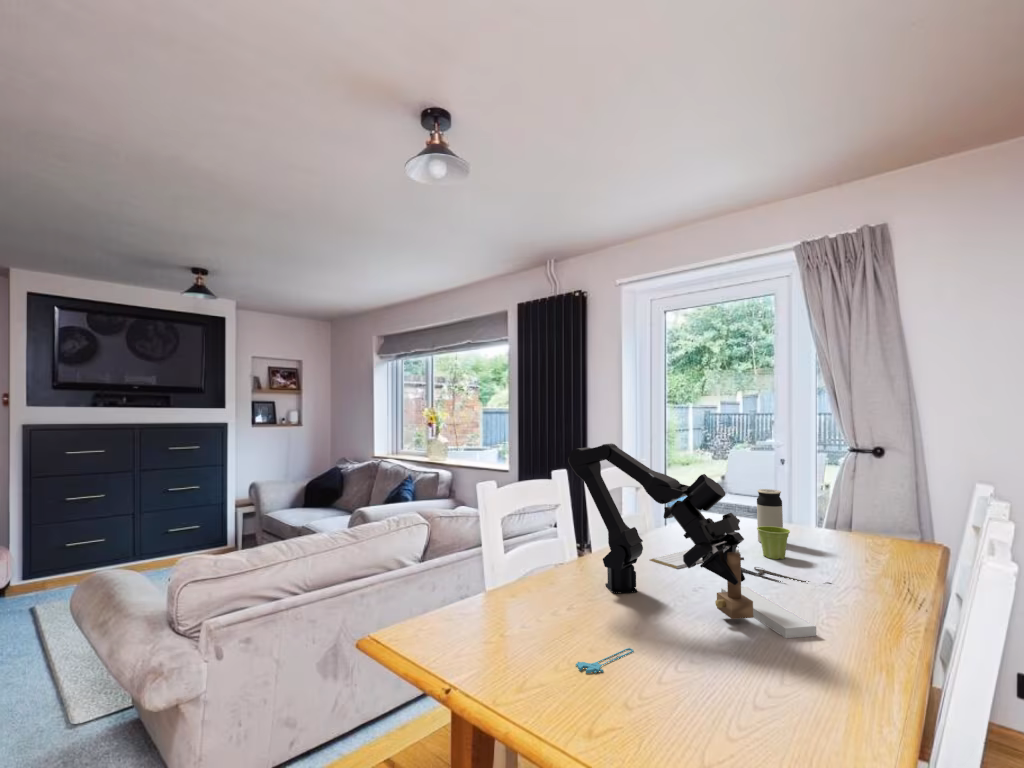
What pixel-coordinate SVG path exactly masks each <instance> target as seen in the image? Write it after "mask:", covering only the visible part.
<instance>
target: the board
mask: <svg viewBox="0 0 1024 768" xmlns="http://www.w3.org/2000/svg"><path fill="white" fill-rule="evenodd" d="M720 592H728V587H721V591H720ZM741 594H742V595H744V596H745V597H747V598H748V599H750V600H752V601H753V618H754V619H756V620H757V621H759V622H760V623H761V624H764V625H765V626H766V627H768V628H770V629H771V630H772V631H774V632H776V633H777V634H779V635H780V636H782V637H783V638H784V639H789V638H790V639H793V638H805V637H806V638H807V637H816V636H817V625H815V624H814V623H812V622H810V621H808V620H807V619H805V618H803V617H801V616H800V615H798V614H796V613H795V612H793V611H791V610H789V609H787V608H785V607H784V606H782V605H780V604H779V603H777V602H775V601H773V600H771V599H770V598H767V596H765V595H762V594H761V593H759V592H758V591H755V590H754V589H752V588H751V587H749V586H741Z"/></svg>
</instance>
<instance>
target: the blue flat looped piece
mask: <svg viewBox="0 0 1024 768" xmlns="http://www.w3.org/2000/svg"><path fill="white" fill-rule="evenodd" d="M625 650H627V651H628V652H627V653H626V651H625ZM623 651H625V654H624V652H623ZM621 652H622V653H623V654H624V655H623V654H622V653H621ZM632 652H633V653H634V652H635V651H634V649H633V648H630V647H627V648H624V649H623V650H621V651H618V652H616V653H614V654H612V655H609V656H607V657H604V658H602V659H600V660H598V661H595V662H591V663H589V662H586V661H581V662H580V661H577V663H576V664H575V666H576V665H577V666H578V667H577V666H576V667H577V670H578V669H579V670H580V671H581V670H582V669H583V668H587V669H585V674H587V673H590V674H592V673H591V672H594V673H596V672H599V671H601V672H602V673H603V672H604V669H602V667H601V666H602V665H604V664H606V663H608V662H611V661H613V660H616V659H618V658H620V659H621V657H622V658H624V657H626V656H628V654H629V653H631V654H633V653H632ZM619 653H620V654H622V655H621V656H620V654H619ZM617 654H618V655H617ZM613 655H617V656H619V657H617V656H616V657H617V658H615V657H614V658H615V659H614V658H613V659H612V660H610V661H609V660H608V659H607V658H609V657H611V656H613ZM625 655H626V656H625ZM629 655H630V654H629ZM623 656H624V657H623ZM611 658H612V657H611ZM605 659H607V660H608V662H607V661H606V660H605ZM609 659H610V658H609ZM602 660H605V661H606V662H604V663H602V664H600V663H601V662H600V661H602ZM618 660H619V659H618ZM616 661H617V660H616ZM598 662H600V663H598ZM602 662H603V661H602ZM613 662H614V661H613ZM611 663H612V662H611ZM600 667H601V668H600ZM579 670H578V671H579ZM583 670H584V669H583ZM583 670H582V671H583ZM580 671H579V672H580ZM582 671H581V672H582ZM601 672H599V673H601ZM594 673H593V674H594ZM596 674H597V673H596Z"/></svg>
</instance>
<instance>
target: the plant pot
mask: <svg viewBox="0 0 1024 768" xmlns="http://www.w3.org/2000/svg"><path fill="white" fill-rule="evenodd" d="M756 531H757V532H758V531H759V534H760V539H761V542H760V543H761V548H762V549H761V550H762V555H763V557H766V558H767V559H772V560H779V559H781V560H784V559H785V558H786V554H787V553H786V551H787V544H788V537H789V534H790V533H791V530H790V529H788V528H785V527H783V528H780V527H773V526H761V527H758V526H756Z"/></svg>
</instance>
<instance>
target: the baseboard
mask: <svg viewBox="0 0 1024 768" xmlns="http://www.w3.org/2000/svg"><path fill="white" fill-rule="evenodd" d="M690 549H691V548H690ZM690 549H685V550H682V551H681V550H680V551H676V552H672V553H669V554H665V555H661V556H657V557H652V558H649V561H651V562H653V563H657V564H660V565H663V566H667V567H670V568H673V569H676V570H677V569H681V568H684V567H687V566H686V564H685V563H684V562H683V555H684V554H685V553H686V552H688V551H689V550H690ZM739 551H740V550H739V546H737V548H736V552H737V553H740V552H739ZM699 563H704V562H703V561H702V558H701V559H699V560H698V561H697V562H696V565H697V564H699Z"/></svg>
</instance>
